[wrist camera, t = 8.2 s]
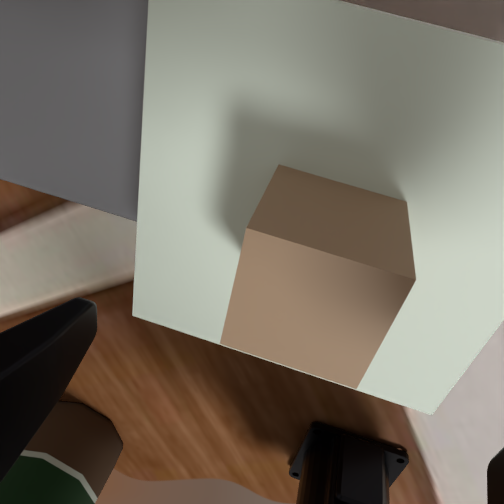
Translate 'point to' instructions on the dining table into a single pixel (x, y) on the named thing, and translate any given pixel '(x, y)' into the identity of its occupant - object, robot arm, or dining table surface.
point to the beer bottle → (64, 459)
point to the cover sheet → (337, 130)
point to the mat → (74, 99)
